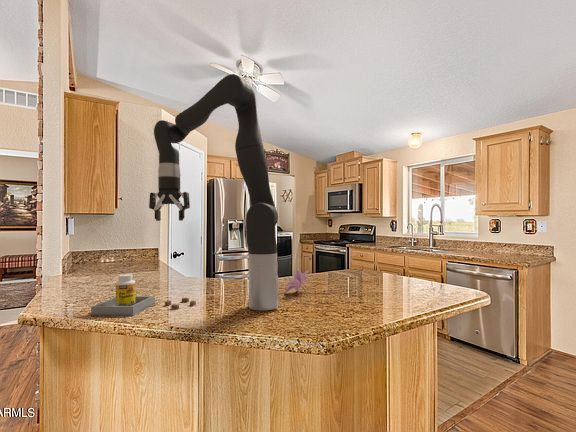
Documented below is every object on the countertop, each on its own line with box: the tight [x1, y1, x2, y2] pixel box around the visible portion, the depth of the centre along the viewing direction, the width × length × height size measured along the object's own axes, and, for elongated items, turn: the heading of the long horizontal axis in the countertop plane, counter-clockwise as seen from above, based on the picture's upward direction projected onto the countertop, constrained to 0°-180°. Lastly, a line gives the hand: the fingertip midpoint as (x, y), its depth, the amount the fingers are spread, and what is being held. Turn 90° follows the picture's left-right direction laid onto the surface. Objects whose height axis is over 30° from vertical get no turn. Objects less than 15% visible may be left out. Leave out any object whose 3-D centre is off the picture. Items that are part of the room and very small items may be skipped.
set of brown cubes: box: [164, 297, 197, 310], centre depth 102 cm, size 10×10×1 cm
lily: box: [283, 268, 310, 296], centre depth 115 cm, size 12×12×10 cm
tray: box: [90, 295, 156, 317], centre depth 98 cm, size 13×13×3 cm
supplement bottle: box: [115, 273, 136, 306], centre depth 98 cm, size 6×6×10 cm
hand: (169, 220), depth 113 cm, fingers open, 8 cm apart
